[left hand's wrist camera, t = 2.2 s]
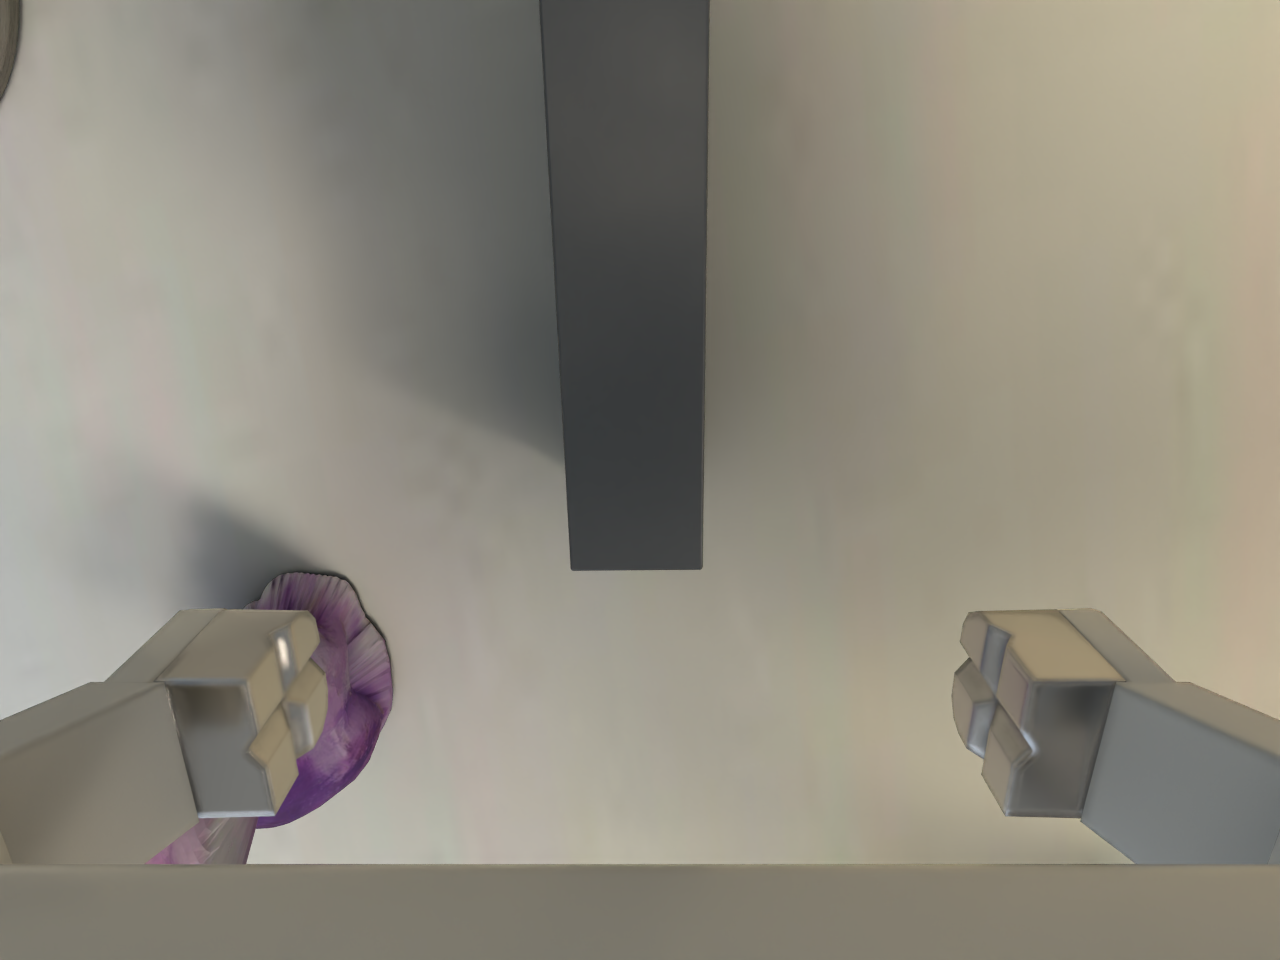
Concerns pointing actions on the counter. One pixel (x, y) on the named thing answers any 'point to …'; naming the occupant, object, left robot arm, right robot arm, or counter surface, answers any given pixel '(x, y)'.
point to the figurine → (349, 726)
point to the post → (630, 272)
